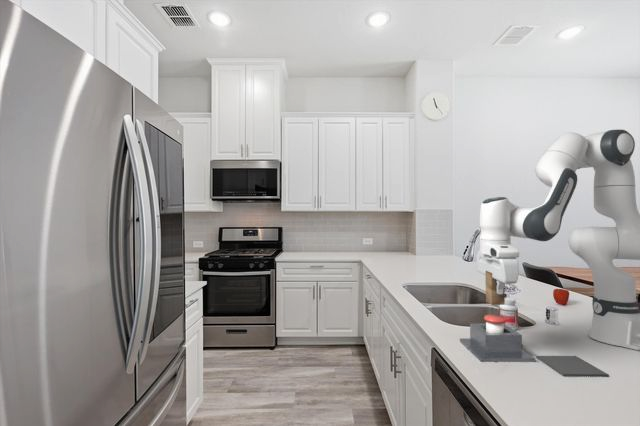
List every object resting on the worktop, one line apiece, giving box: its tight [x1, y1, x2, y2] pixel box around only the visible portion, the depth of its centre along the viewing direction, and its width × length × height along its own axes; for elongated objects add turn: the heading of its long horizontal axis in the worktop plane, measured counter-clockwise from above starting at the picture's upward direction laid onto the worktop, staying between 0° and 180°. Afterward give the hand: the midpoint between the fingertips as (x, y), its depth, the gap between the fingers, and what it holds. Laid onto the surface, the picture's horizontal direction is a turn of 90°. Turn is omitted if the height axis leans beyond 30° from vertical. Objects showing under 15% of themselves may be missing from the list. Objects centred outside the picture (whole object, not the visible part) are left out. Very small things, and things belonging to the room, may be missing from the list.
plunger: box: [483, 314, 505, 333], centre depth 110 cm, size 6×6×9 cm
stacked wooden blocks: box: [485, 271, 506, 306], centre depth 110 cm, size 4×4×10 cm
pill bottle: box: [498, 297, 519, 331], centre depth 132 cm, size 6×6×11 cm
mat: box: [535, 355, 610, 378], centre depth 99 cm, size 12×12×1 cm
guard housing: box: [459, 322, 536, 363], centre depth 110 cm, size 16×16×7 cm
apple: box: [552, 288, 570, 306], centre depth 165 cm, size 6×6×8 cm
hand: (495, 291), depth 110 cm, fingers closed on stacked wooden blocks, 4 cm apart
